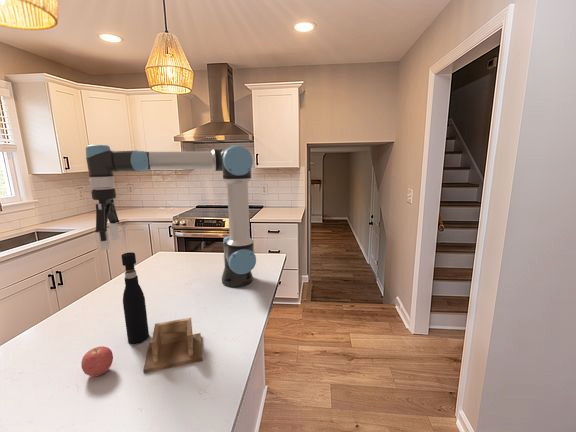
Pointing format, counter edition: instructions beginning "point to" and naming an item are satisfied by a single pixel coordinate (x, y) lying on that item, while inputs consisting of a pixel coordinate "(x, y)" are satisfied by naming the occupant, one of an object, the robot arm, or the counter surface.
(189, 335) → the u rest
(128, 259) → the wine bottle
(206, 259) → the counter surface
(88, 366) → the apple
